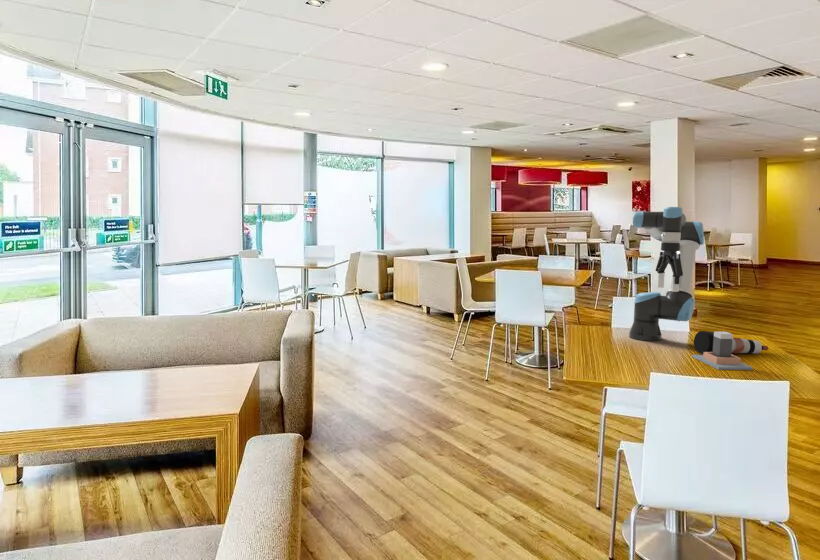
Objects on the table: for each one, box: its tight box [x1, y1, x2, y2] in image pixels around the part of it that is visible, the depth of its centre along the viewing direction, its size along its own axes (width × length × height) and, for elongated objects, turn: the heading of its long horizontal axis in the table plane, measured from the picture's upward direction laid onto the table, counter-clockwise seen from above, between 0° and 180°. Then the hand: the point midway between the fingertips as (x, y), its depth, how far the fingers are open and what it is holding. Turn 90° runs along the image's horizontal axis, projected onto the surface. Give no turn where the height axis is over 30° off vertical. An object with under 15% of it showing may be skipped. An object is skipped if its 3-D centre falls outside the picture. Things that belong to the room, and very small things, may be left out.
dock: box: [692, 352, 754, 371], centre depth 232 cm, size 20×14×4 cm
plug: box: [712, 331, 734, 357], centre depth 231 cm, size 5×5×12 cm
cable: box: [693, 330, 769, 355], centre depth 248 cm, size 10×34×10 cm
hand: (667, 289), depth 247 cm, fingers open, 13 cm apart
